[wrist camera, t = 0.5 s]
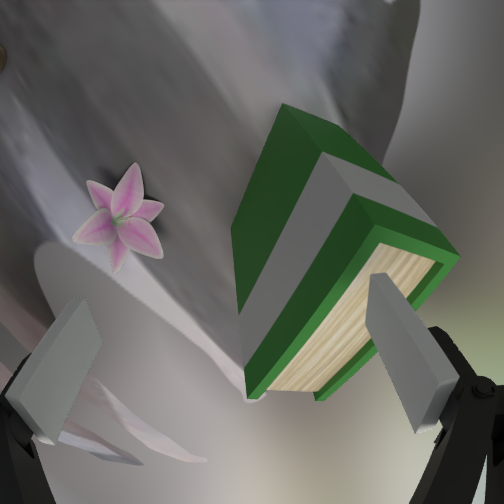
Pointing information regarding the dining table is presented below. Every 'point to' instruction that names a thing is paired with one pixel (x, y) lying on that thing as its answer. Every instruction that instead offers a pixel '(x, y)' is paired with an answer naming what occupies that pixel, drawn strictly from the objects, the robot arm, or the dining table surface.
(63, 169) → the dining table surface
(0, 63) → the beige rounded cylinder
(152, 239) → the lily
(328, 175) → the hardback book
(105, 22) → the dining table surface
